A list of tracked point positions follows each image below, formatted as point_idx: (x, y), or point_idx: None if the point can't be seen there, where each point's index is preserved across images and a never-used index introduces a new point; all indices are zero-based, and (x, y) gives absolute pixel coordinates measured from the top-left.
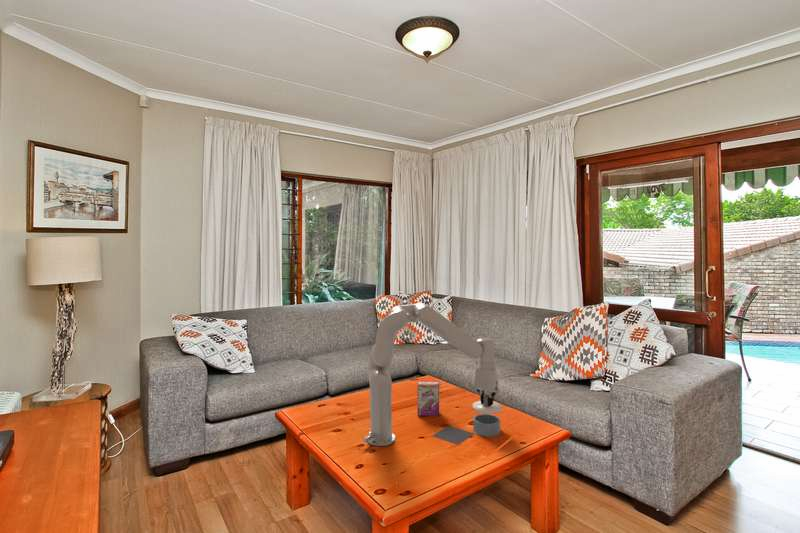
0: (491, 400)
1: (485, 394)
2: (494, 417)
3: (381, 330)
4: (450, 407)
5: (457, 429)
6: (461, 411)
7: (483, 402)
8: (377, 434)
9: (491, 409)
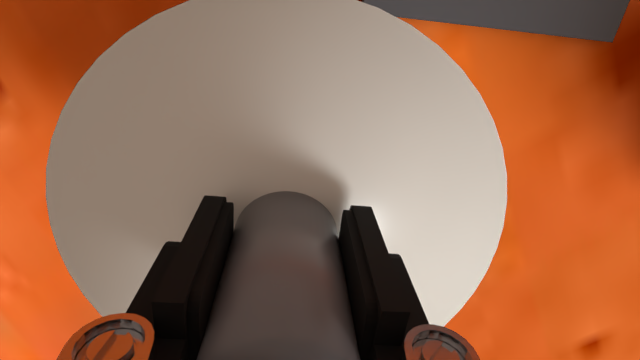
0: (142, 285)
1: None
2: None
3: None
4: (632, 324)
5: (521, 5)
6: (553, 309)
7: (342, 250)
8: None
9: (139, 127)
